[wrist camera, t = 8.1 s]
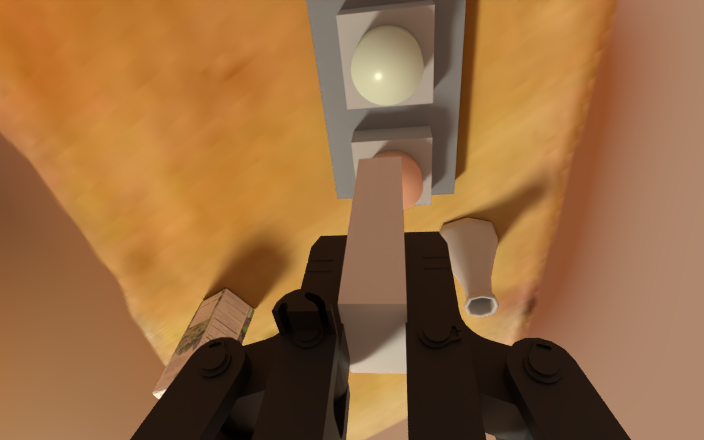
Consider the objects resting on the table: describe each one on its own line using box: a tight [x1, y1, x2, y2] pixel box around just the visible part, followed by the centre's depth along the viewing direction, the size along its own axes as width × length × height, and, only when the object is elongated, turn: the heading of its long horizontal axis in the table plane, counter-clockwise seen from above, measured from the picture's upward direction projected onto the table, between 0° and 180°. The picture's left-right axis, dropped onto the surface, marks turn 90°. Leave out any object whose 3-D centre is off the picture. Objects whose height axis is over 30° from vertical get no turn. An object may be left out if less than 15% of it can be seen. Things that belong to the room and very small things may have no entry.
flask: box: [439, 217, 499, 317], centre depth 41 cm, size 7×7×10 cm
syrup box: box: [152, 288, 254, 399], centre depth 50 cm, size 6×6×14 cm
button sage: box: [351, 25, 424, 105], centre depth 29 cm, size 5×5×4 cm
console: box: [306, 0, 466, 206], centre depth 31 cm, size 28×12×4 cm, turn 6°
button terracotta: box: [374, 151, 423, 210], centre depth 35 cm, size 5×5×4 cm
